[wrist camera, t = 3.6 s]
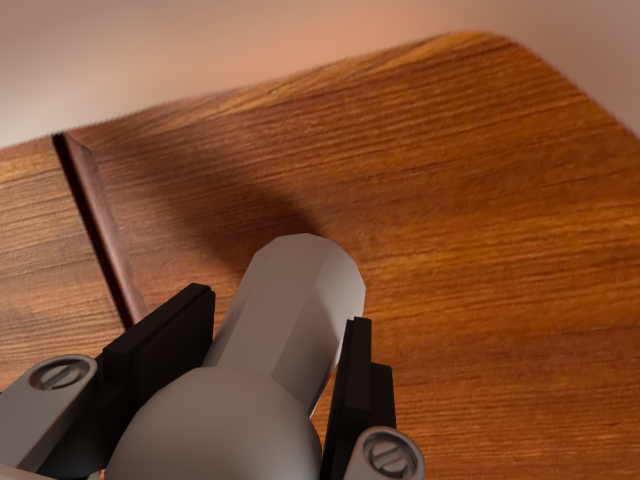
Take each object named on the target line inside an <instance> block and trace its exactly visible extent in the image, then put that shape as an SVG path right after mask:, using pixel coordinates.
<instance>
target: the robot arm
mask: <svg viewBox="0 0 640 480" xmlns="http://www.w3.org/2000/svg"><path fill="white" fill-rule="evenodd" d="M214 311H215V292H214V291H211V287H210V286H206V285H202V284H197V283H191V284H190V285H188V286H187V287H186V288H184V289H183V290H182V291H180V292H179V293H177V294H176V295H175V296H173V297H172V298H171V299H169V300H168V301H167V302H165V303H164V304H163V305H161V306H160V307H159V308H157V309H156V310H154V311H153V312H152V313H150V314H149V315H148V316H146V317H145V318H144V319H142V320H141V321H140V322H138V323H137V324H136V325H134V326H133V327H132V328H130V329H129V330H127V331H126V332H125V333H123V334H122V335H121V336H119V337H118V338H117V339H115V340H114V341H113V342H111V343H110V344H109V345H107V346H106V347H104V348H103V353H101V354H100V355H99V356H97V357H96V358H95V359H93V358H91V357H89V356H87V355H81V354H67V355H61V356H56V357H53V358H50V359H46V360H44V361H42V362H40V363H38V364H36V365H34V366H33V367H31V368H30V369H29V370H27V371H26V372H25V373H24V374H23V375H21V376H20V377H19V378H18V379H17V380H16V381H15V382H13V383H12V384H11V385H10V386H9V387H8V388H6V389H5V390H4V391H3V392H0V480H98V479H99V476H100V474H101V470H103V469H106V467H107V465H108V463H109V461H110V459H111V457H112V455H113V453H114V451H115V448H116V446H117V444H118V442H119V440H120V439H121V437H122V435H123V434H124V432H125V431H126V429H127V427H128V426H129V424H130V422H131V421H132V419H133V417H134V416H135V414H136V412H137V411H138V410H139V409H140V408H141V407H142V406H143V405H144V404H145V403H146V402H147V401H148V400H149V399H150V398H151V397H152V396H153V395H154V394H155V393H156V392H157V391H159V390H160V389H162V388H163V387H165V386H167V385H168V384H170V383H171V382H173V381H174V380H176V379H178V378H179V377H181V376H182V375H184V374H185V373H187V372H189V371H191V370H193V369H195V368H200V367H201V365H202V363H203V361H204V359H205V356H206V354H207V352H208V350H209V348H210V346H211V344H212V340H213V325H214ZM424 475H425V462H424V457H423V455H422V453H421V451H420V449H419V448H418V446H417V445H416V444H415V442H414V441H413V440H412V439H410V438H409V437H408V436H407V435H405V434H404V433H402V432H400V431H398V430H397V428H396V416H395V404H394V392H393V380H392V369H391V367H390V366H386V365H382V364H377V363H372V362H371V319H367V318H362V317H357V316H354V320H349V319H347V321H346V327H345V332H344V337H343V343H342V348H341V353H340V358H339V364H338V369H337V374H336V380H335V385H334V390H333V396H332V401H331V407H330V413H329V419H328V425H327V431H326V437H325V443H324V449H323V455H322V461H321V469H320V480H424Z"/></svg>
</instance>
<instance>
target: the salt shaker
mask: <svg viewBox="0 0 640 480" xmlns="http://www.w3.org/2000/svg"><path fill="white" fill-rule="evenodd" d="M365 289H366V287H365V284H364V282H363V280H362V278H361V275H360V273H359V271H358V269H357V266H356V264H355V262H354V260H353V258H352V257H350V256H349V255H348V254H347V253H346V252H345V251H344V250H343V249H342V248H341V247H340V246H339V245H338V244H337V243H336V242H335V241H333V240H330V239H326V238H323V237H319V236H316V235H312V234H309V233H302V234H294V235H286V236H280V237H277V238H276V239H274V240H273V241H271V242H270V243H269V244H267V245H266V246H264V247H263V248H262V249H260V250H259V251H257V252H256V253H255V255H254V257H253V259H252V260H251V262H250V264H249V266H248V268H247V270H246V272H245V274H244V276H243V278H242V280H241V282H240V284H239V286H238V289H237V291H236V293H235V295H234V297H233V299H232V301H231V303H230V306H229V308H228V310H227V312H226V314H225V316H224V318H223V320H222V323H221V325H220V327H219V329H218V331H217V333H216V335H215V337H214V340H213V342H212V344H211V346H210V348H209V350H208V352H207V354H206V356H205V359H204V361H203V363H202V365H201V367H200V368H195V369H193V370H191V371H189V372H187V373H185V374H184V375H182V376H181V377H179V378H178V379H176V380H174V381H173V382H171V383H170V384H168V385H167V386H165V387H163V388H162V389H160V390H159V391H157V392H156V393H155V394H154V395H153V396H152V397H151V398H150V399H149V400H148V401H147V402H146V403H145V404H144V405H143V406H142V407H141V408H140V409H139V410H138V411H137V412H136V414H135V416H134V417H133V419H132V421H131V422H130V424H129V426H128V427H127V429H126V431H125V432H124V434H123V435H122V437H121V439H120V440H119V442H118V444H117V446H116V448H115V451H114V453H113V455H112V457H111V459H110V461H109V463H108V465H107V467H106V469H105V472H104V478H105V480H320V469H321V456H322V447H321V443H320V439H319V436H318V434H317V432H316V430H315V428H314V426H313V424H312V422H311V420H310V418H311V416H312V414H313V412H314V410H315V408H316V406H317V403H318V401H319V399H320V397H321V395H322V393H323V390H324V389H325V387H326V385H327V383H328V381H329V379H330V377H331V375H332V373H333V371H334V369H335V367H336V365H337V363H338V361H339V358H340V353H341V348H342V343H343V337H344V332H345V327H346V321H347V319H349V320H354V316H357V317H361V316H362V314H363V307H364V298H365Z"/></svg>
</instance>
